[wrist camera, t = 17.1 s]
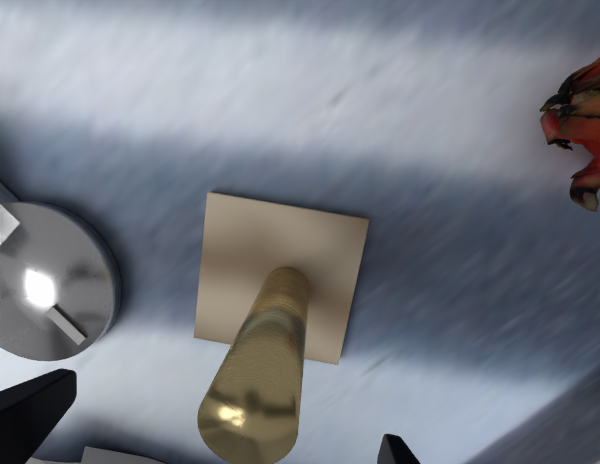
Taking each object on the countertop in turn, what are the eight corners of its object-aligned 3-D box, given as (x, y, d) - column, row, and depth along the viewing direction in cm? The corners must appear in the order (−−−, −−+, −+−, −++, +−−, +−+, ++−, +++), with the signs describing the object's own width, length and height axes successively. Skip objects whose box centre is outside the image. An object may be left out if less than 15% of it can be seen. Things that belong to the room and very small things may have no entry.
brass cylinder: (306, 313, 18) (291, 474, 8) (261, 306, 18) (194, 457, 9) (312, 270, 18) (304, 390, 8) (265, 263, 18) (200, 373, 8)
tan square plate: (337, 359, 19) (338, 364, 19) (197, 332, 20) (193, 337, 19) (367, 218, 17) (369, 220, 17) (211, 192, 18) (207, 192, 17)
